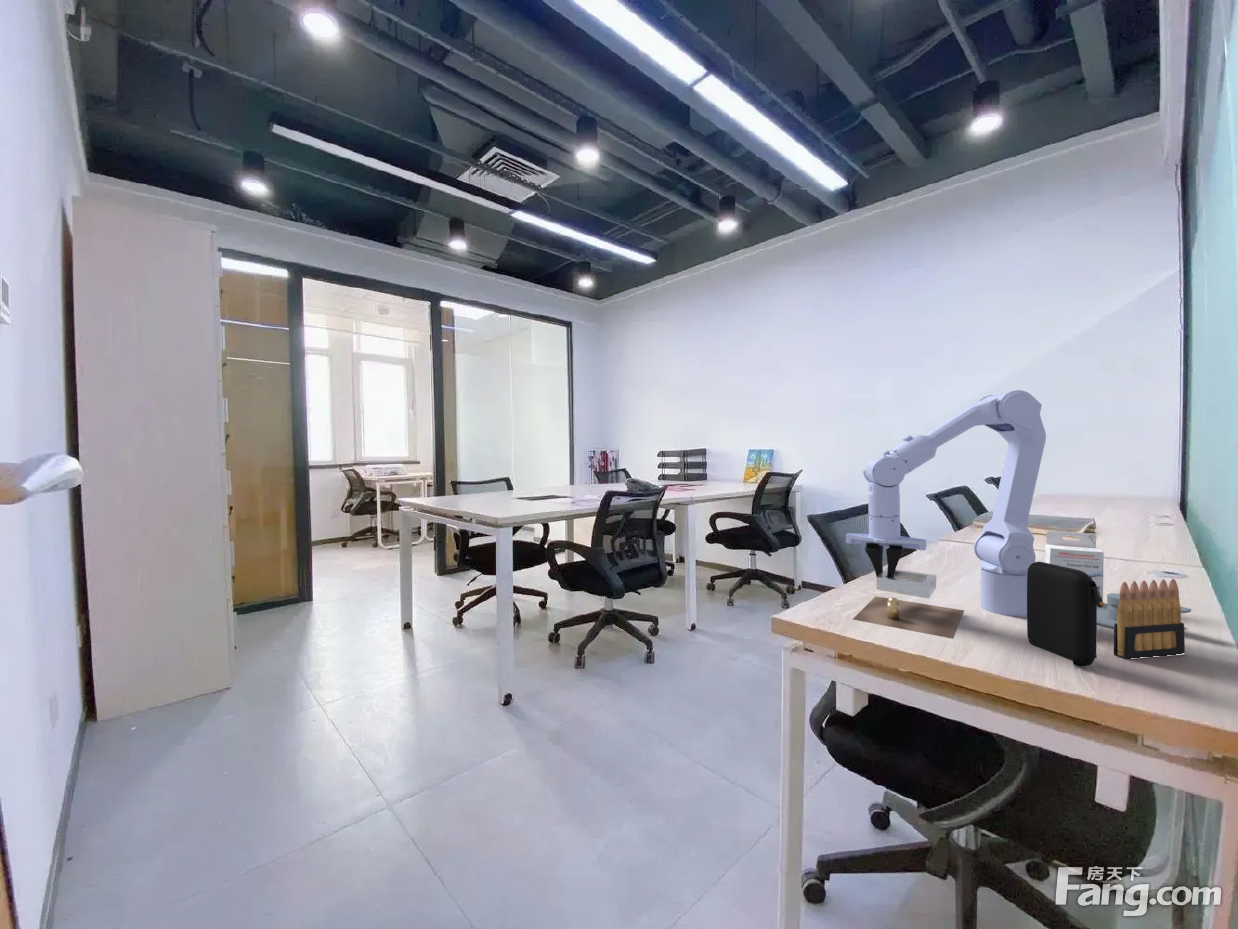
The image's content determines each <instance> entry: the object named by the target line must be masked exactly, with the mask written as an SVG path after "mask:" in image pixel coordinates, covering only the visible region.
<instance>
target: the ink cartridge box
mask: <svg viewBox="0 0 1238 929" xmlns="http://www.w3.org/2000/svg"><path fill="white" fill-rule="evenodd" d="M1045 537H1046V538H1045V540H1046V543H1045V544H1044V562H1045V563H1049V564H1054V565H1058V566H1063V567H1068V568H1072V569H1077V570H1081V571H1083V572H1085V573H1086V574H1088V575H1089V576H1090V577H1091V578H1092V580H1093V581H1094V582H1095V583H1096V586H1097V587H1098V588H1099V591H1100V595H1101V598H1102V600H1103V601H1104V559H1105V558H1104V556H1105V555H1104V551H1103V550H1101V549H1099V548H1098V547H1097V546H1096V545H1097V534H1096V533H1093V532H1091V533H1089V532H1074V531H1057V530H1056V531H1055V530H1054V531H1053V530H1047V531H1046V536H1045ZM1069 537H1073V538H1074V540H1072V539H1063V538H1069ZM1075 538H1078V539H1079V540H1075Z"/></svg>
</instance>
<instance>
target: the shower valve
mask: <svg viewBox="0 0 1238 929" xmlns="http://www.w3.org/2000/svg"><path fill="white" fill-rule="evenodd" d="M1119 594H1120V593H1113V592H1111V593H1107V594H1106V603H1107V604H1109V605H1107V606H1104V605H1103V607H1101V608H1099V607H1098V606H1097V626H1098V627H1101V628H1106V629H1111V630H1113V631H1114V624H1115V623H1117V608H1118V605H1119ZM1191 612H1192V608H1188V607H1185V606H1181V614H1187V613H1191Z"/></svg>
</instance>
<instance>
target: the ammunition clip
mask: <svg viewBox="0 0 1238 929" xmlns="http://www.w3.org/2000/svg"><path fill="white" fill-rule="evenodd" d="M1118 594H1119V605H1118V608H1117V623H1115V624H1114V630H1113V631H1114V632H1113V655H1114V656H1116V657H1118V658H1121V657H1122V659H1124V658H1125V659H1124V660H1127V659H1131V658H1140V657H1153V656H1167V655H1176V654H1182V653H1185V654H1186V645H1185V642H1186V641H1185V623H1184V622H1182V613H1181V607H1182V606H1181V602H1180V590H1179V585H1178V583H1177V581H1176V579H1175V578H1172V579H1171V580H1170V582H1169V584H1168V583H1167V581H1166V580H1165V579H1161V581H1160V583H1159V585H1158V584H1157V581H1156V580H1155V579H1152V580H1151V582H1150V584H1149V586H1148V583H1147V581H1146V580H1142V581H1141V583H1140V586H1139V584H1137V582H1136V581H1135V580H1133V582H1132V583H1131V584H1130V587H1129V585H1128V583H1127V582H1126V581H1123V583H1121V586H1120V589H1119V593H1118ZM1131 660H1132V659H1131Z"/></svg>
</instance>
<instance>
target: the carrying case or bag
mask: <svg viewBox="0 0 1238 929" xmlns="http://www.w3.org/2000/svg"><path fill="white" fill-rule="evenodd" d="M1097 606H1098V607H1099V608H1101V607H1103V606H1104V599H1103V600H1102V598H1101V595H1100V591H1099V588H1098V587H1097V586H1096V583H1095V582H1094V581H1093V580H1092V578H1091V577H1090V576H1089V575H1088V574H1086V573H1085V572H1083V571H1081V570H1077V569H1072V568H1068V567H1063V566H1058V565H1054V564H1049V563H1045V561H1035V562H1034V563H1032V564H1031V565H1030V566H1029V568H1028V572H1027V618H1026V629H1027V630H1026V632H1027V634H1026V635H1027V640H1028V642H1029V644H1030V645H1032V646H1034V647H1037V648H1040V649H1042V650H1043V651H1047V652H1048V653H1049V652H1050V653H1052V654H1054V655H1057V656H1058V657H1059V656H1060V657H1062V658H1065V659H1067V660H1070V661H1072V663H1073V665H1074V666H1077V667H1081V668H1082V667H1085V668H1086V667H1089V666H1091V665H1092V664H1093V663H1094V661H1095V659H1097V657H1098V656H1097V635H1098V634H1097V629H1098V627H1097V626H1098V625H1097Z"/></svg>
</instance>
